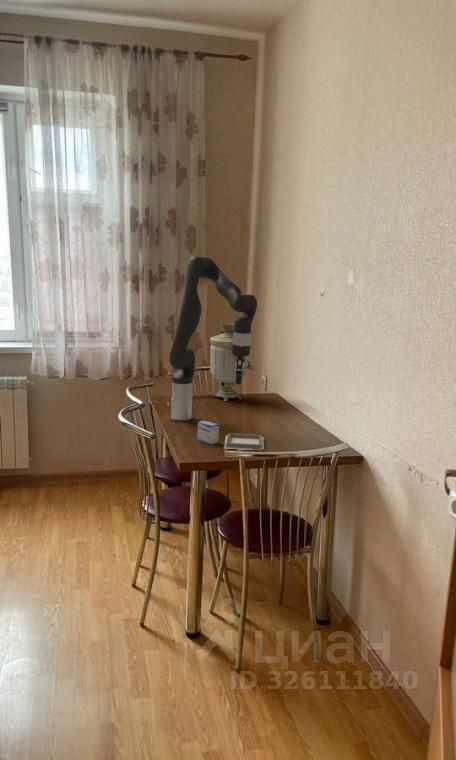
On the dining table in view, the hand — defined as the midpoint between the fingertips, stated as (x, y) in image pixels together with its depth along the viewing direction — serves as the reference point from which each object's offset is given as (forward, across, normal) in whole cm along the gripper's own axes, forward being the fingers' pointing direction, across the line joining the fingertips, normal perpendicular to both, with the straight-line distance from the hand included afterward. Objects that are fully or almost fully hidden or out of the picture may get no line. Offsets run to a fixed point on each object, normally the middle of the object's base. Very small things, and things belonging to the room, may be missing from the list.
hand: (238, 381), depth 253 cm
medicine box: (+25, +8, -11) cm, 29 cm away
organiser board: (+25, +8, +4) cm, 26 cm away
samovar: (+26, -70, -5) cm, 75 cm away
